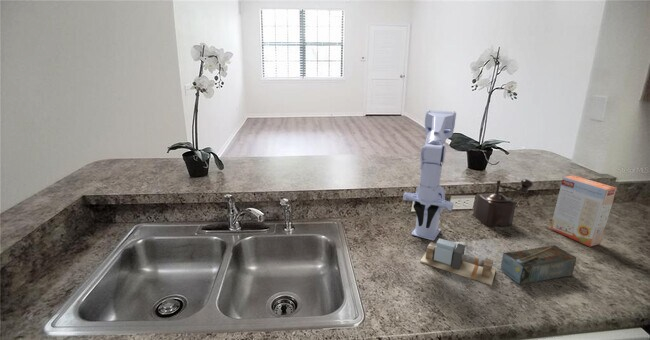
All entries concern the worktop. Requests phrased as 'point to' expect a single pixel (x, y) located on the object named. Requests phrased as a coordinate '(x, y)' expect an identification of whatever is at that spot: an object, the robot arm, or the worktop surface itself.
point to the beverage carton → (537, 264)
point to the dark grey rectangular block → (458, 256)
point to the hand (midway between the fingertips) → (424, 225)
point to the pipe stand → (463, 266)
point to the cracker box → (583, 209)
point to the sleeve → (444, 251)
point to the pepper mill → (497, 206)
